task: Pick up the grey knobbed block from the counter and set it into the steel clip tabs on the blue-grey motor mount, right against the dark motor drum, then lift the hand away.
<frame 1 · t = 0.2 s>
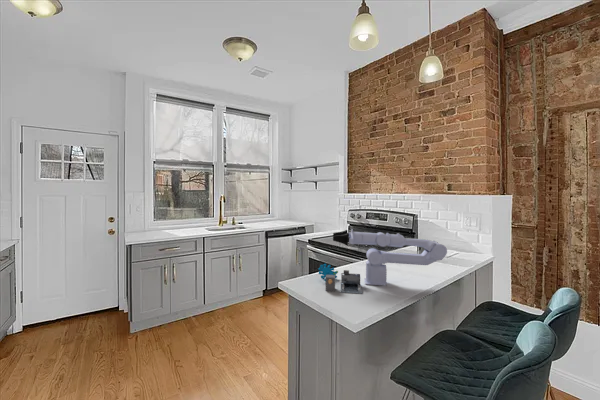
hand: (333, 236, 138), 21 cm above the countertop, tool horizontal, fingers open, 7 cm apart
gear: (328, 280, 140), on the countertop
motor mount: (350, 289, 126), on the countertop
grey knobbed block: (330, 289, 126), on the countertop
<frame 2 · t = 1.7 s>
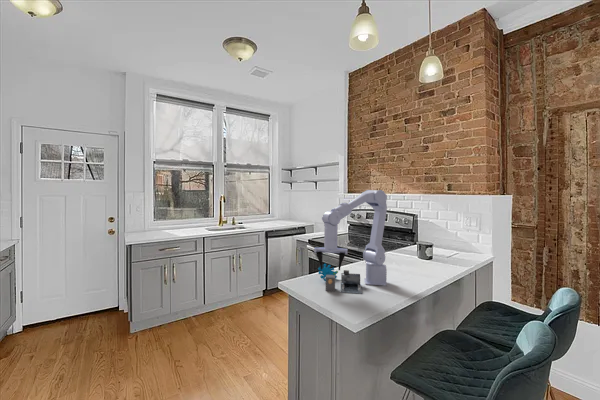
hand: (330, 269, 126), 9 cm above the countertop, tool pointing down, fingers open, 7 cm apart
nothing on the countertop moved.
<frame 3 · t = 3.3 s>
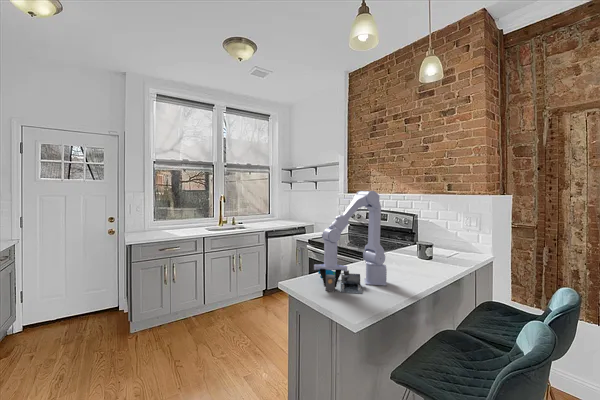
hand: (330, 286, 126), 1 cm above the countertop, tool pointing down, fingers closed on grey knobbed block, 4 cm apart
grey knobbed block: (330, 289, 126), on the countertop, touching gripper
everything else where it was.
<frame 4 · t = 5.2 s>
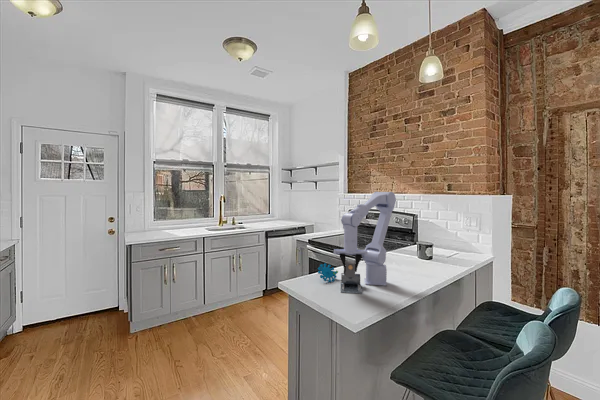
hand: (350, 271, 126), 8 cm above the countertop, tool pointing down, fingers closed on grey knobbed block, 4 cm apart
grey knobbed block: (350, 275, 126), point 6 cm above the countertop, touching gripper
everything else where it was.
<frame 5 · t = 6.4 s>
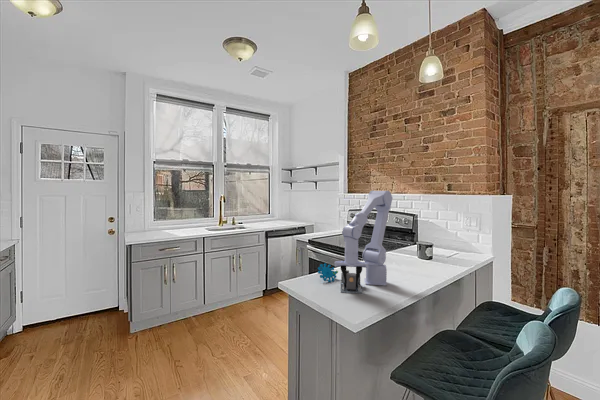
hand: (351, 283, 126), 3 cm above the countertop, tool pointing down, fingers closed on grey knobbed block, 4 cm apart
grey knobbed block: (350, 287, 126), point 1 cm above the countertop, touching gripper
everything else where it was.
when the fingers open (3 cm above the countertop, at t = 7.1 s): grey knobbed block stays where it is, resting on motor mount.
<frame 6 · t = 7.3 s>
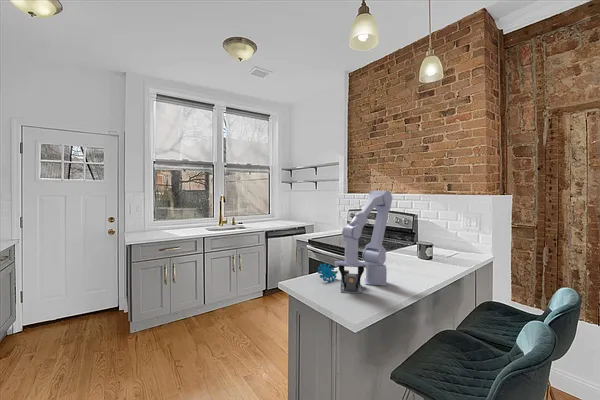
hand: (351, 283, 126), 3 cm above the countertop, tool pointing down, fingers open, 6 cm apart
grey knobbed block: (350, 288, 126), point 1 cm above the countertop, touching motor mount
everything else where it was.
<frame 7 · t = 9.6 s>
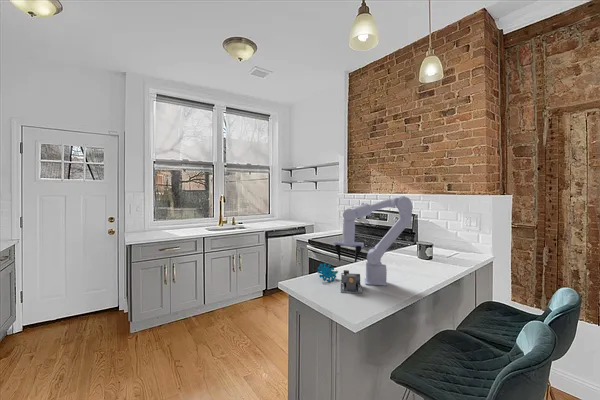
hand: (347, 261, 140), 9 cm above the countertop, tool pointing down, fingers open, 7 cm apart
nothing on the countertop moved.
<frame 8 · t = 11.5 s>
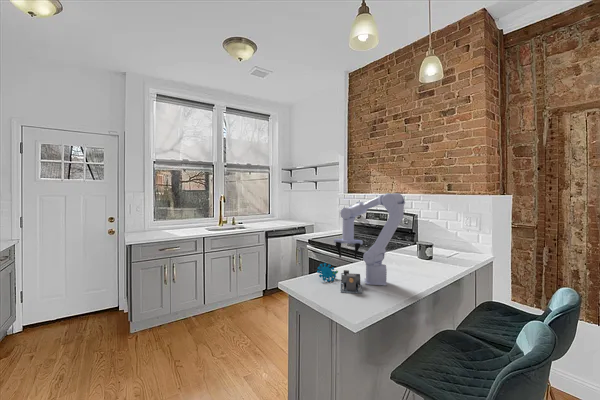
hand: (347, 257, 147), 9 cm above the countertop, tool pointing down, fingers open, 7 cm apart
at the end: grey knobbed block 0.0 cm off-centre on the motor mount, point 0.6 cm above the motor mount's base; grey knobbed block tilted 0°; the gripper is holding nothing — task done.
